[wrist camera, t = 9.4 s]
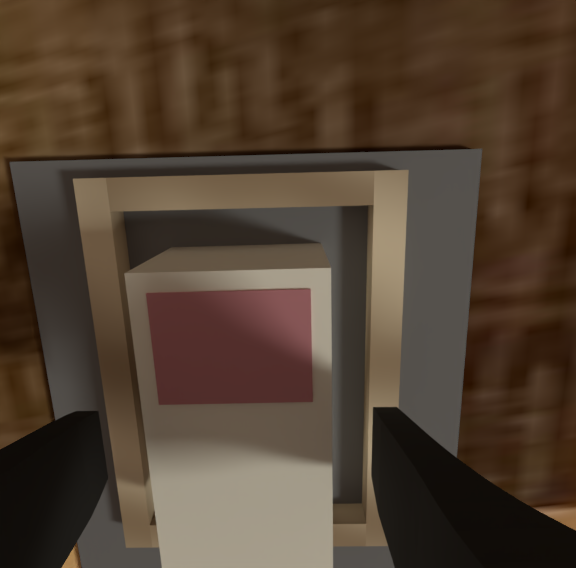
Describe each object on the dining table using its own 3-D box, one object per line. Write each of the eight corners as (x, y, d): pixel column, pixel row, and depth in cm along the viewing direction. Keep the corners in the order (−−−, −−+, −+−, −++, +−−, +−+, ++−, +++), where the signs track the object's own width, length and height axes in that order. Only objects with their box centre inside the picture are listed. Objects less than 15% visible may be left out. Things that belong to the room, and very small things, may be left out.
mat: (430, 725, 20) (433, 738, 19) (116, 723, 20) (111, 737, 20) (475, 149, 14) (482, 148, 13) (19, 162, 14) (9, 162, 13)
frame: (387, 524, 17) (392, 546, 16) (135, 526, 17) (126, 547, 16) (400, 170, 13) (408, 169, 12) (88, 178, 14) (72, 178, 13)
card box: (324, 476, 16) (333, 573, 12) (194, 478, 16) (161, 574, 12) (321, 242, 14) (331, 268, 10) (171, 247, 14) (123, 274, 10)
